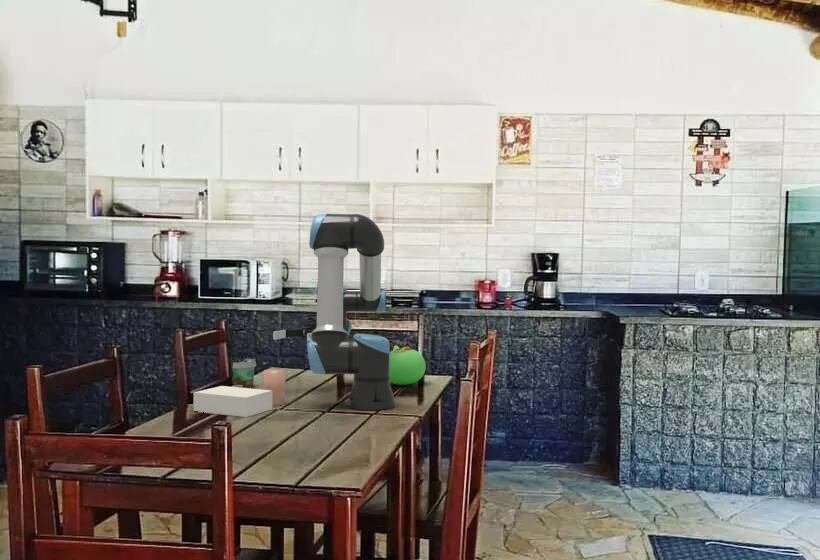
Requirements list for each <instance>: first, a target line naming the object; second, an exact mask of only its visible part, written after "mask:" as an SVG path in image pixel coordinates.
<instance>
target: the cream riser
mask: <svg viewBox="0 0 820 560" xmlns="http://www.w3.org/2000/svg"><path fill="white" fill-rule="evenodd" d="M270 410H271V411H272V410H273V406H272V390H264V389H259V388H239V387H234V386H227V385H219V386H215V387H211V388H207V389H202V390H199V391H194V392H193V412H194V411H198V412H197V413H203V412H204V414H214V415H223V416H232V417H240V418H247V417H251V416H255V415H258V414H261V413H264V412H268V411H270Z"/></svg>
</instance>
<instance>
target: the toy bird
mask: <svg viewBox="0 0 820 560" xmlns="http://www.w3.org/2000/svg"><path fill="white" fill-rule="evenodd" d="M426 366H427V364H426V361H425V358H424V357H423V355H422V354H421V353H420V352H419V351H417V350H415V349H412V348H411V347H410V346H405V347H399V346H398V345H394V346H393V350H391V351H390V354H389V368H390V384H391V383H392V384H394V385H398V386H408V385H411V384H412V385H413V384H414V383H417V382H418V381H419V380H420V379H421V380H422V378H423V376H424V374H425V373H426V368H427V367H426Z"/></svg>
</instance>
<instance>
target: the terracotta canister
mask: <svg viewBox="0 0 820 560" xmlns="http://www.w3.org/2000/svg"><path fill="white" fill-rule="evenodd" d="M263 390H272V407H273V406H274V407H276V406H283V405H285V404H286V369H283V368H281V369H280V368H269V369H264V370H263Z"/></svg>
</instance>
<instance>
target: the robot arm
mask: <svg viewBox="0 0 820 560" xmlns="http://www.w3.org/2000/svg"><path fill="white" fill-rule="evenodd" d="M308 244H309V248H310V249H312V250H313V254H314V256H315V257H316V258H317V292H316V295H317V296H316V298H317V299H316V302H317V303H316V321H313V323H311V325H310V326H308V327H302V326H301V327H297V328H296V327H295V328H283V329H282V328H279V329H278V330H275V331H273V333H272V334H273V335H272V336H273V337H272V338H273V339H272V340H276V341H277V340H280V339H282V340H285V339H286V338H291V337H292V338H294V337H295V338H296V337H300V338H306V343H307V345H306V346H307V355H308V364H309V367H310V368H309V369H310V371H311V373H313V374H315V375H324V376H325V375H353V384H352V387H351V391H350V394H349V397H348V402H347V403H348V404H347V405H348V407H349V408H351V409H354V410H360V411H362V410H363V411H380V410H381V411H382V410H389V409H393V408H394V407H395V406H396V405H395V404H396V400H395V399H396V398H395V396H394V395H395V394H394V393H393V392H394V391H393V389H392V386H391V382H390V368H389V354H390V352H391V351H390V349H391V348H390V341H389V340H388V338H387V337H384V336H380V335H376V334H369V333H354V335H353V337H351V338H349V337H348V336H349V334H350V333H351V330H352V323H351V320H350V319H348V317H347V316H348V314H347V313H348V312H350V313H351V312H352V313H353V312H355V313H356V312H358V313H360V312H361V313H362V312H363V313H367V312H369V313H377V312H384V311H386V292H385V291H381V287H382V286H381V285H382V278H381V277H382V254H383V252H384V249H385V239H384V235H383V233H382V231H381V229H380V228H379V226H378V225H377V224H376V223H375V222H374V221H373V220H372V219H371V218H369V217H367V216H366V215H363V214H358V213H354V214H352V213H351V214H349V213H348V214H346V213H325V214H320V213H319V214H316V215H315V216H314V217H313V218H312V222H311V226H310V230H309V242H308ZM349 249H350V250H352V249H356V251H357V253H358V254H359V284H360V285H359V291H350V290H349V291H348V290H347V289H348V288H347V287H346V286H344V278H345V277H344V273H345V272H344V268H345V267H344V266H345V265H344V260H345V258H346V257H347V256H348V255H349Z"/></svg>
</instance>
